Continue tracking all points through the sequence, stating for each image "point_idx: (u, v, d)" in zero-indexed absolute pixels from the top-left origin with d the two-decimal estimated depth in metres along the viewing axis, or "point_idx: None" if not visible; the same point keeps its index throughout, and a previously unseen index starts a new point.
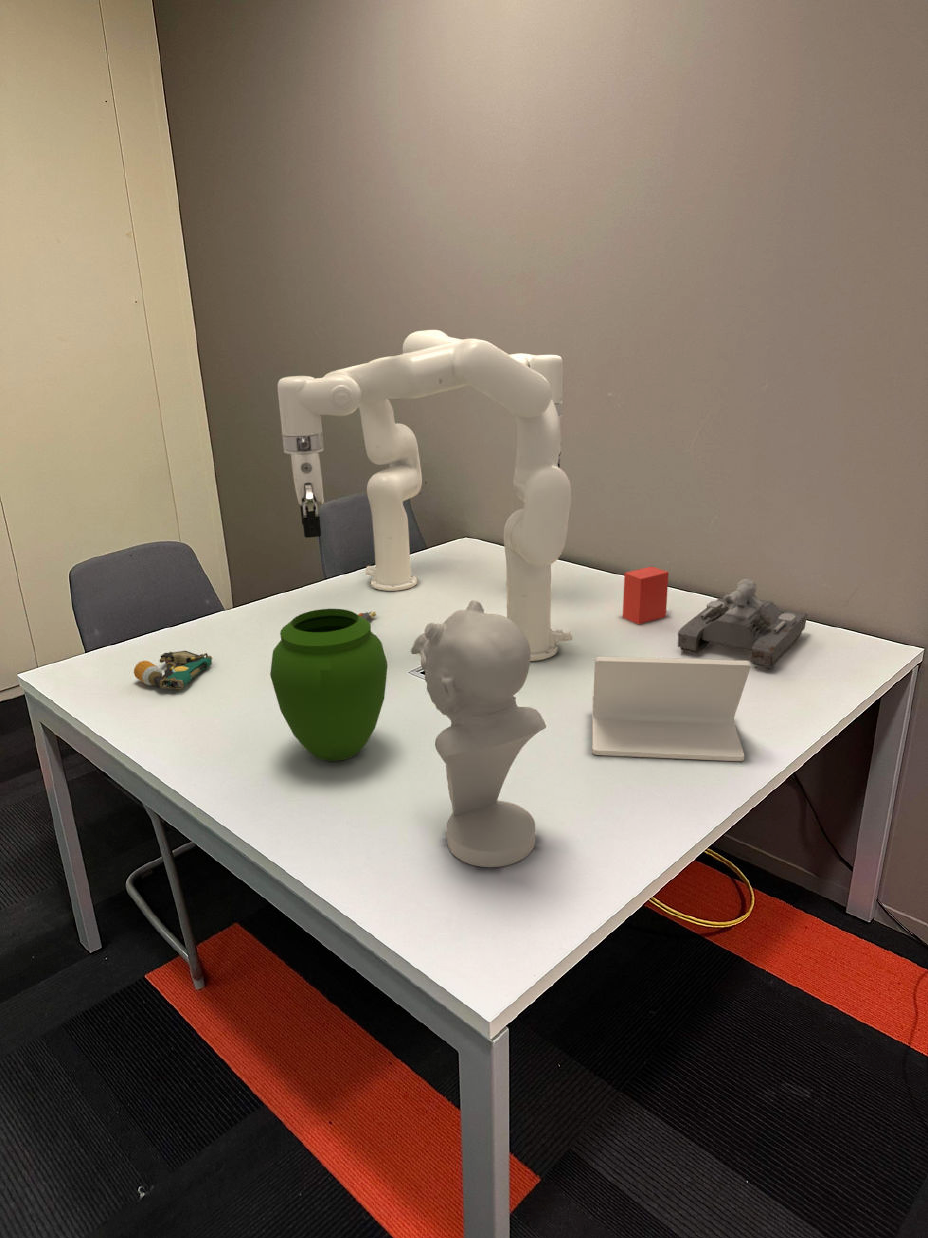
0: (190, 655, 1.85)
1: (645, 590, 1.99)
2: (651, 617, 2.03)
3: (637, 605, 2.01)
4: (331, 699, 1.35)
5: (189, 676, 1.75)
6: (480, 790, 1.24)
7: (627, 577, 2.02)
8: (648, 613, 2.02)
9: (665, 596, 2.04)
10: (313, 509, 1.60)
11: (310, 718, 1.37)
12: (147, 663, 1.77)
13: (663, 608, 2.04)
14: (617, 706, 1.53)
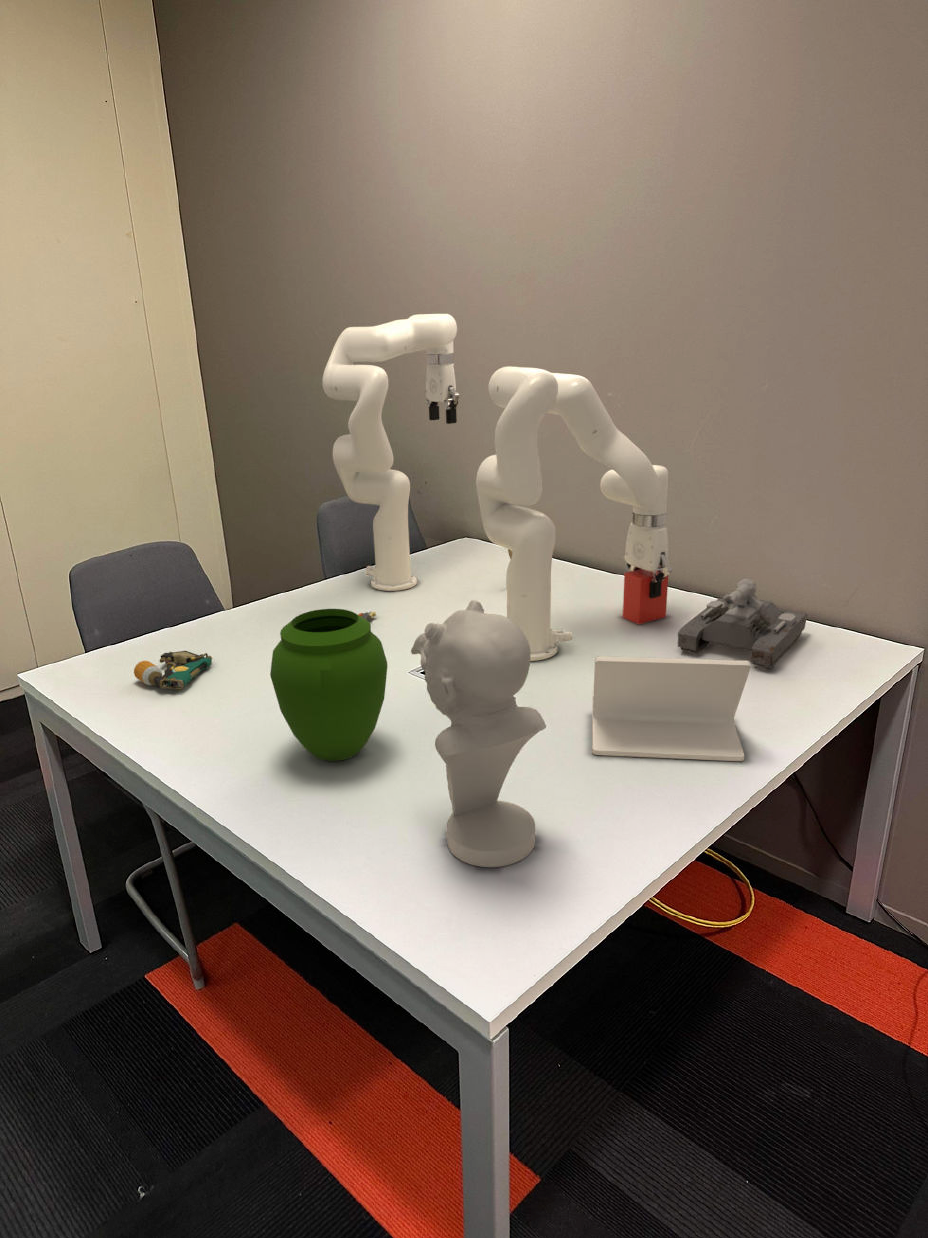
0: (190, 655, 1.85)
1: (645, 590, 1.99)
2: (651, 617, 2.03)
3: (637, 605, 2.01)
4: (331, 699, 1.35)
5: (189, 676, 1.75)
6: (480, 790, 1.24)
7: (627, 577, 2.02)
8: (648, 613, 2.02)
9: (665, 596, 2.04)
10: None
11: (310, 718, 1.37)
12: (147, 663, 1.77)
13: (663, 608, 2.04)
14: (617, 706, 1.53)
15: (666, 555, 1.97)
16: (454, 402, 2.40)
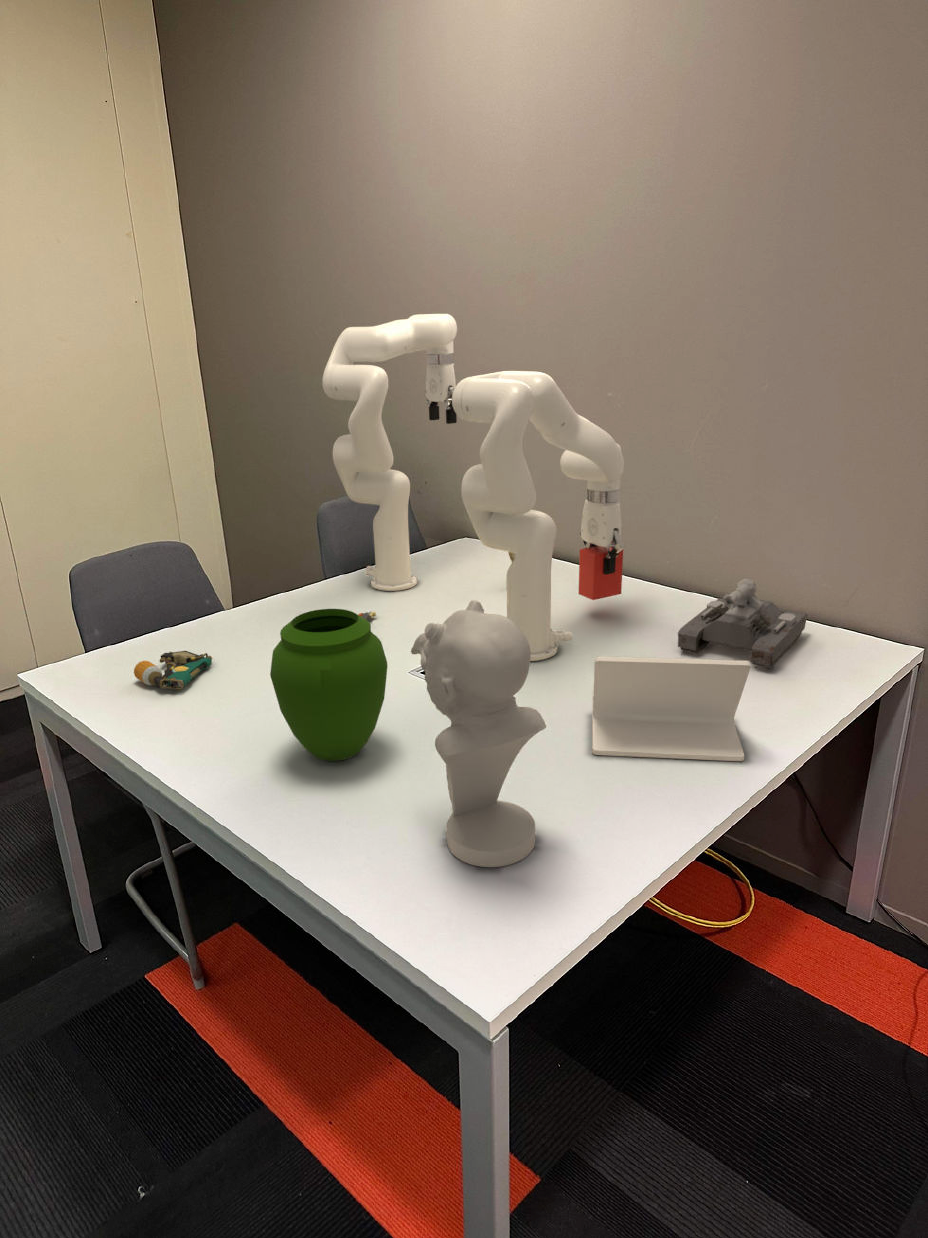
0: (190, 655, 1.85)
1: (599, 566, 2.02)
2: (605, 593, 2.05)
3: (591, 581, 2.03)
4: (331, 699, 1.35)
5: (189, 676, 1.75)
6: (480, 790, 1.24)
7: (582, 553, 2.04)
8: (603, 589, 2.04)
9: (620, 573, 2.06)
10: None
11: (310, 718, 1.37)
12: (147, 663, 1.77)
13: (618, 585, 2.06)
14: (617, 706, 1.53)
15: (619, 531, 1.99)
16: None
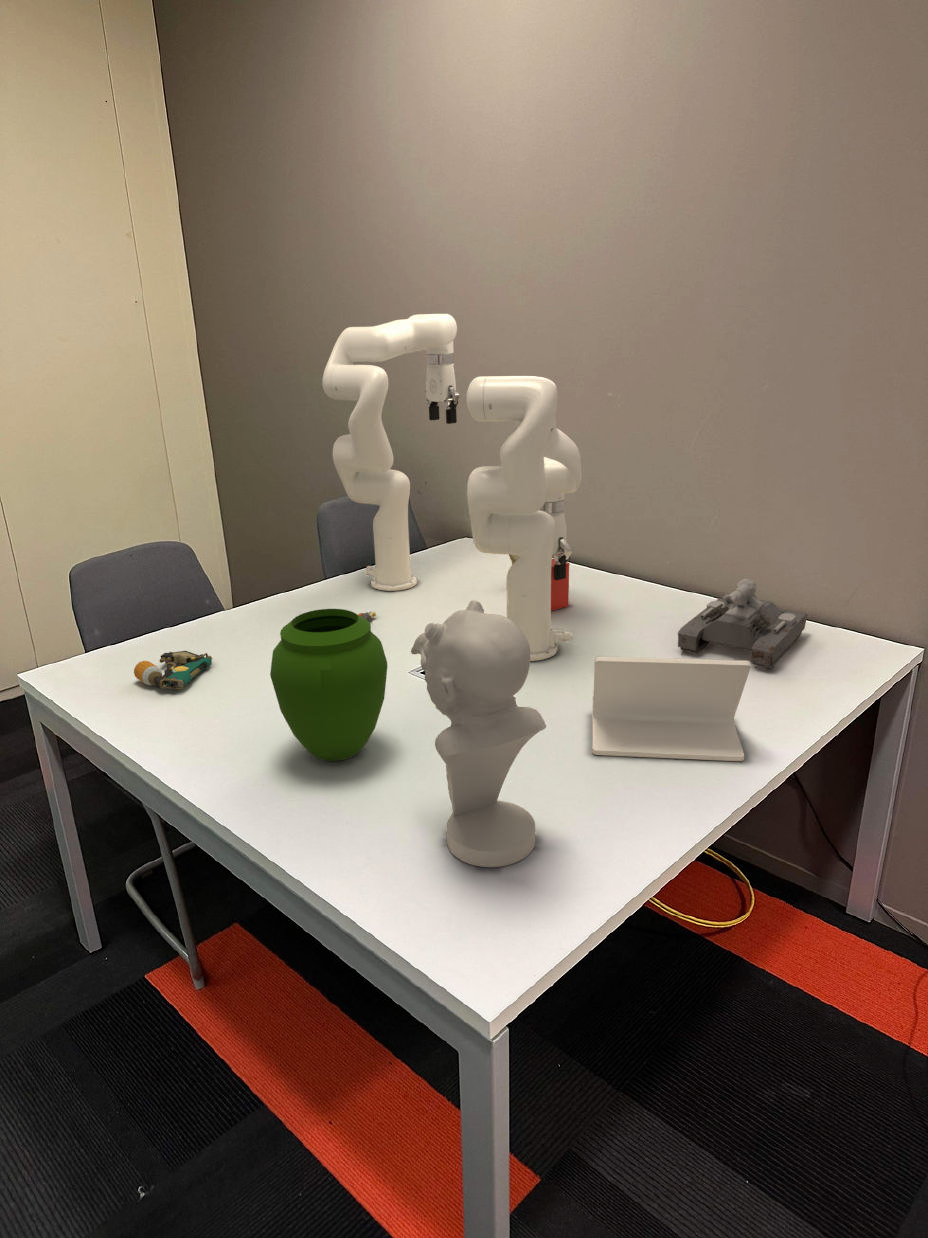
0: (190, 655, 1.85)
1: None
2: (553, 606, 2.12)
3: None
4: (331, 699, 1.35)
5: (189, 676, 1.75)
6: (480, 790, 1.24)
7: None
8: None
9: (567, 586, 2.12)
10: None
11: (310, 718, 1.37)
12: (147, 663, 1.77)
13: (565, 598, 2.13)
14: (617, 706, 1.53)
15: (564, 540, 2.05)
16: (454, 402, 2.40)
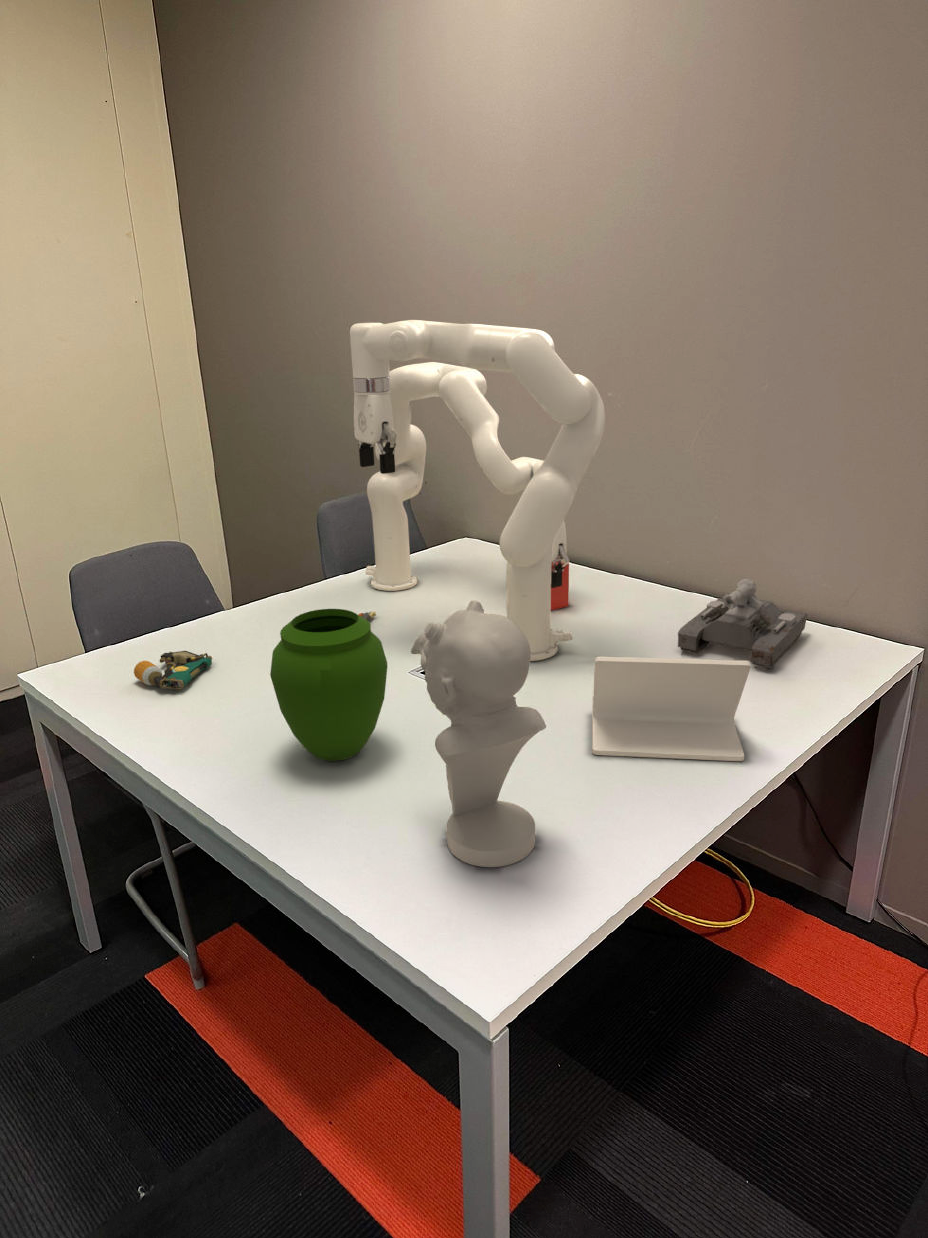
0: (190, 655, 1.85)
1: None
2: (553, 606, 2.12)
3: None
4: (331, 699, 1.35)
5: (189, 676, 1.75)
6: (480, 790, 1.24)
7: None
8: None
9: (567, 586, 2.12)
10: None
11: (310, 718, 1.37)
12: (147, 663, 1.77)
13: (565, 598, 2.13)
14: (617, 706, 1.53)
15: (390, 426, 1.74)
16: (562, 566, 2.06)
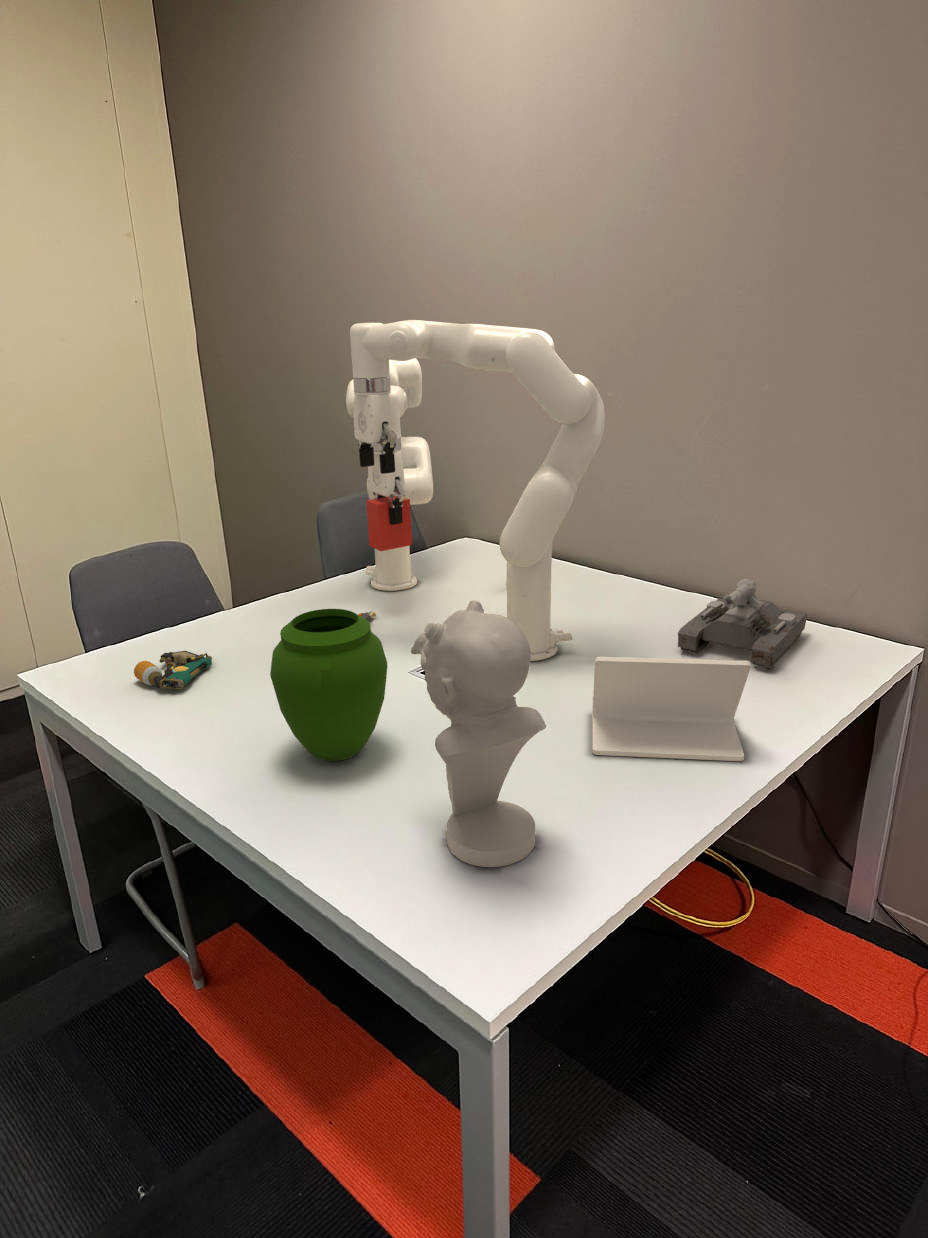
0: (190, 655, 1.85)
1: (384, 517, 2.00)
2: (394, 544, 2.03)
3: (377, 532, 2.01)
4: (331, 699, 1.35)
5: (189, 676, 1.75)
6: (480, 790, 1.24)
7: (368, 504, 2.02)
8: (391, 540, 2.03)
9: (409, 524, 2.04)
10: None
11: (310, 718, 1.37)
12: (147, 663, 1.77)
13: (408, 536, 2.05)
14: (617, 706, 1.53)
15: (390, 426, 1.74)
16: (399, 500, 1.97)
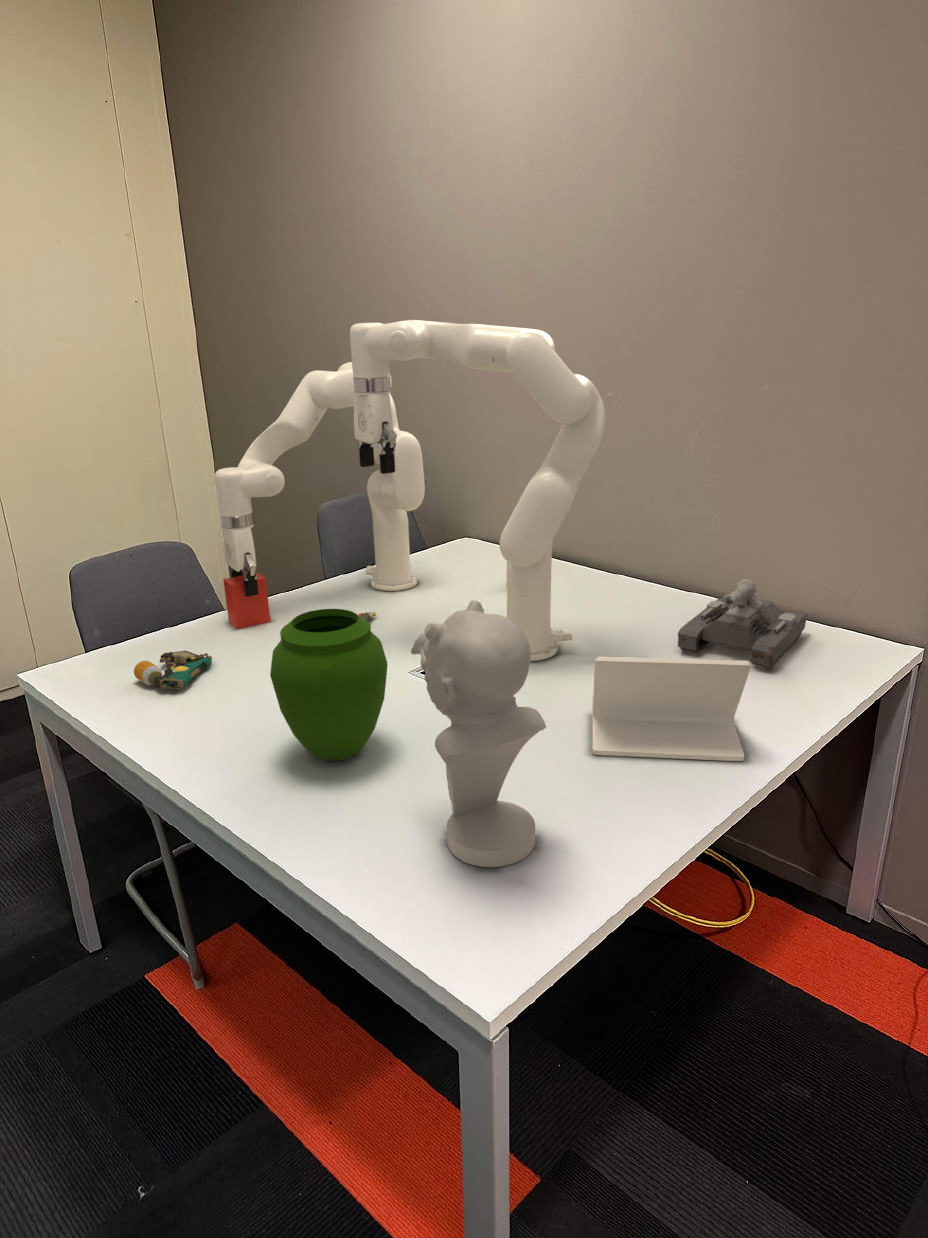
0: (190, 655, 1.85)
1: (239, 596, 2.04)
2: (251, 622, 2.07)
3: (233, 611, 2.05)
4: (331, 699, 1.35)
5: (189, 676, 1.75)
6: (480, 790, 1.24)
7: (224, 583, 2.06)
8: (247, 618, 2.07)
9: (266, 601, 2.08)
10: None
11: (310, 718, 1.37)
12: (147, 663, 1.77)
13: (266, 613, 2.09)
14: (617, 706, 1.53)
15: (390, 426, 1.74)
16: (250, 574, 1.99)
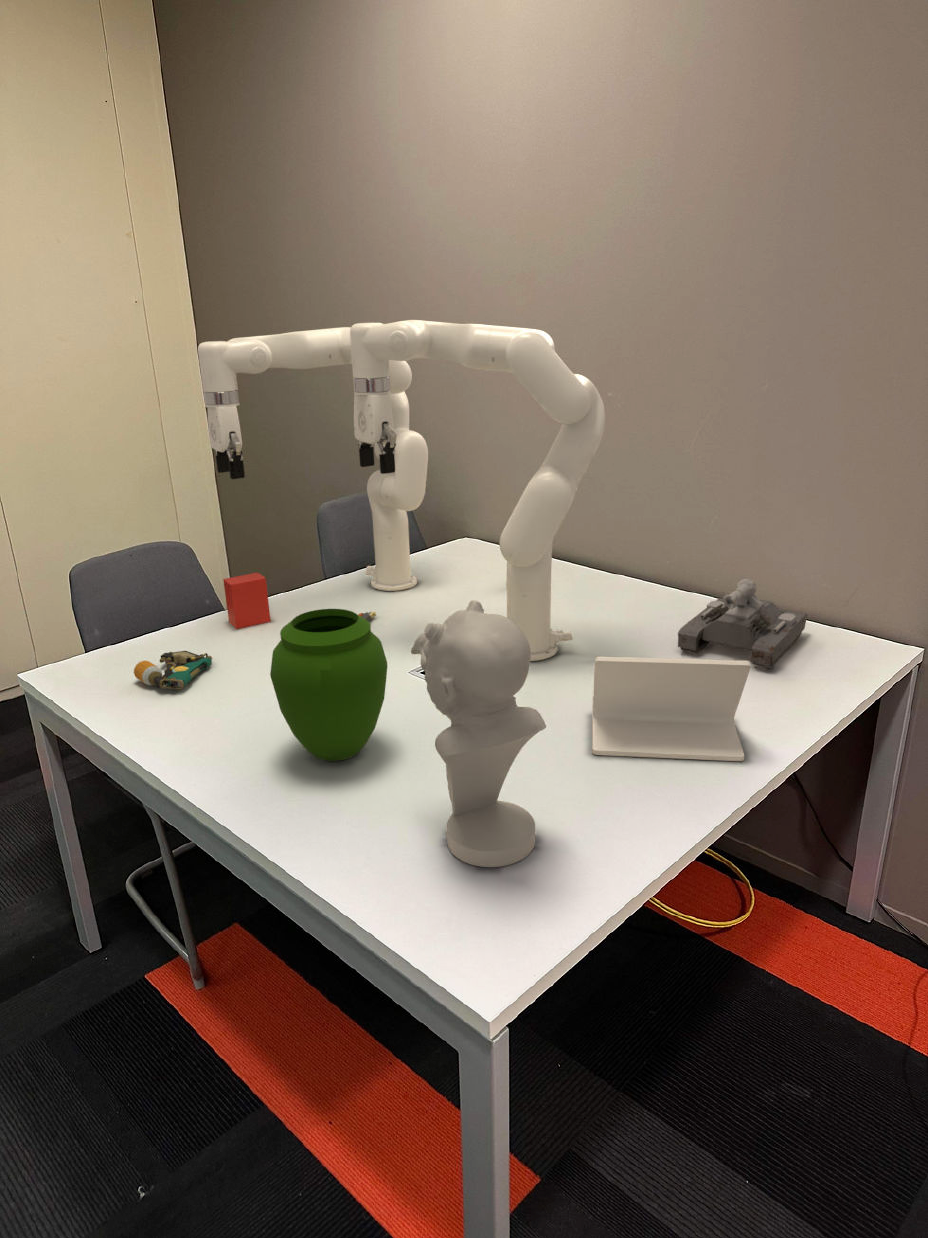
0: (190, 655, 1.85)
1: (239, 596, 2.04)
2: (251, 622, 2.07)
3: (233, 611, 2.05)
4: (331, 699, 1.35)
5: (189, 676, 1.75)
6: (480, 790, 1.24)
7: (224, 583, 2.06)
8: (247, 618, 2.07)
9: (266, 601, 2.08)
10: None
11: (310, 718, 1.37)
12: (147, 663, 1.77)
13: (266, 613, 2.09)
14: (617, 706, 1.53)
15: (390, 426, 1.74)
16: (236, 453, 1.89)
